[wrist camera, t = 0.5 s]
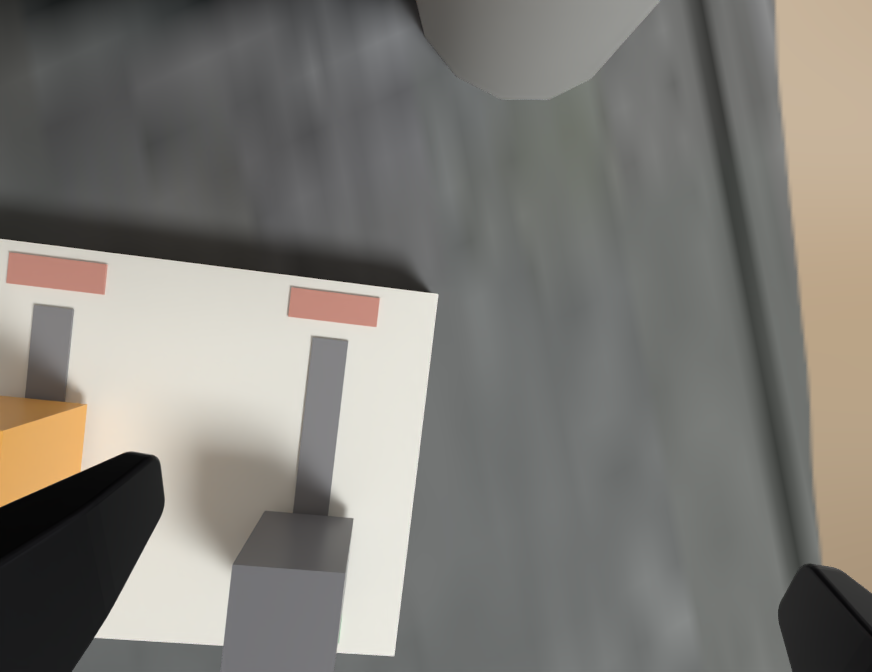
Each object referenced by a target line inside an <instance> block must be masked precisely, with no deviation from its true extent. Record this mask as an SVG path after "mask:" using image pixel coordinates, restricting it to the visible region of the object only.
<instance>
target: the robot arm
mask: <svg viewBox="0 0 872 672" xmlns="http://www.w3.org/2000/svg"><path fill="white" fill-rule="evenodd" d="M164 505H165V495H164V487H163V478H162V470H161V463H160V460H159V459H158V457H157V456H155V455H152V454H146V453H140V452H134V451H129V452H125V453H122V454H120V455H118V456H115V457H113V458H111V459H108V460H106V461H104V462H102V463H99V464H97V465H95V466H93V467H90V468H88V469H86V470H83V471H81V472H79V473H77V474H74V475H72V476H70V477H67V478H65V479H63V480H61V481H58V482H56V483H54V484H52V485H49V486H47V487H45V488H42V489H40V490H38V491H36V492H33V493H31V494H29V495H27V496H24V497H22V498H20V499H17V500H15V501H13V502H11V503H8V504H6V505H4V506H2V507H0V672H72V670H73V669H74V667H75V666H76V664H77V663H78V661H79V660H80V658H81V657H82V655H83V654H84V652H85V651H86V649H87V648H88V646H89V645H90V643H91V642H92V640H93V639H94V637H95V636H96V634H97V632H98V631H99V629H100V628H101V626H102V625H103V623H104V621H105V620H106V618H107V617H108V615H109V613H110V611H111V610H112V608H113V606H114V604H115V602H116V601H117V599H118V597H119V595H120V593H121V591H122V589H123V588H124V586H125V584H126V582H127V580H128V578H129V576H130V574H131V572H132V571H133V569H134V567H135V565H136V563H137V561H138V559H139V557H140V555H141V554H142V552H143V550H144V548H145V546H146V544H147V542H148V540H149V538H150V537H151V535H152V533H153V531H154V529H155V527H156V525H157V523H158V522H159V520H160V518H161V515H162V513H163V510H164ZM778 619H779V625H780V629H781V632H782V636H783V639H784V643H785V647H786V650H787V654H788V657H789V661H790V664H791V668H792V672H872V593H870V592H869V591H868V590H867V589H865V588H864V587H863V586H861V585H860V584H858V583H857V582H856V581H855V580H853V579H852V578H851V577H849V576H848V575H847V574H846V573H844V572H843V571H841V570H839V569H837V568H834V567H828V566H822V565H816V564H805V565H803V566H801V567H800V568H799V569H798V571H797V573H796V575H795V576H794V578H793V580H792V582H791V584H790V586H789V587H788V589H787V591H786V593H785V595H784V597H783V598H782V600H781V602H780V605H779V609H778Z"/></svg>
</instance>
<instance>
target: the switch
mask: <svg viewBox="0 0 872 672" xmlns="http://www.w3.org/2000/svg"><path fill="white" fill-rule="evenodd" d="M353 520H354V518H345V517H333V516H321V515H310V514H298V513H286V512H275V511H264V513H263V514H262V516H261V518H260V519H259V521H258V523H257V524H256V526H255V528H254V529H253V531H252V533H251V534H250V536H249V538H248V539H247V541H246V543H245V544H244V546H243V548H242V549H241V551H240V553H239V554H238V556H237V558H236V559H235V561H234V563H233V564H232V572H231V581H230V590H229V599H228V608H227V617H226V626H225V635H224V644H223V653H222V662H221V671H220V672H334V668H335V661H336V654H337V647H338V640H339V633H340V625H341V618H342V611H343V604H344V596H345V587H346V579H347V571H348V562H349V554H350V545H351V537H352V528H353Z"/></svg>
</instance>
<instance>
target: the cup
mask: <svg viewBox="0 0 872 672" xmlns="http://www.w3.org/2000/svg"><path fill="white" fill-rule="evenodd" d="M660 1H661V0H416V2H417V7H418V11H419V15H420V19H421V23H422V27H423V31H424V35H425V38H426V39H427V40H428V41H429V43H430V44H431V45H432V46H433V48H434V49H435V50H436V52H437V53H438V54H439V55H440V57H441V58H442V59H443V60H444V62H445V63H446V64H447V66H448V67H449V68H450V69H451V71H452V72H453V73H454V74H455V76H456V77H457V78H459V79H461V80H463V81H465V82H467V83H469V84H471V85H473V86H475V87H477V88H479V89H481V90H483V91H485V92H487V93H489V94H491V95H493V96H495V97H497V98H499V99H512V100H549V99H551V98H553V97H555V96H557V95H560V94H562V93H564V92H566V91H568V90H570V89H572V88H574V87H576V86H578V85H580V84H582V83H584V82H586V81H588V80H590V79H591V78H592V77H593V76H594V75H595V74H596V73H597V71H598V70H599V69H600V68H601V67H602V66H603V65H604V64H605V63H606V61H607V60H608V59H609V58H610V57H611V56H612V55H613V54H614V52H615V51H616V50H617V49H618V48H619V47H620V46H621V45H622V43H623V42H624V41H625V40H626V39H627V38H628V37H629V36H630V34H631V33H632V32H633V31H634V30H635V29H636V28H637V27H638V25H639V24H640V23H641V22H642V21H643V20H644V19H645V18H646V16H647V15H648V14H649V13H650V12H651V11H652V10H653V9H654V7H655V6H656V5H657V4H658V3H659V2H660Z"/></svg>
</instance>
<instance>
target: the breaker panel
mask: <svg viewBox="0 0 872 672" xmlns="http://www.w3.org/2000/svg"><path fill="white" fill-rule="evenodd" d="M437 301H438V294H433V293H426V292H418V291H410V290H402V289H394V288H386V287H378V286H370V285H362V284H354V283H346V282H338V281H331V280H323V279H315V278H307V277H299V276H291V275H283V274H275V273H267V272H259V271H251V270H243V269H236V268H228V267H220V266H212V265H204V264H196V263H188V262H180V261H172V260H164V259H156V258H148V257H140V256H133V255H125V254H117V253H109V252H101V251H93V250H85V249H77V248H69V247H61V246H53V245H45V244H38V243H30V242H22V241H14V240H6V239H0V396H10V397H20V398H30V399H40V400H50V401H60V402H70V403H80V404H87V413H86V423H85V433H84V443H83V453H82V462H81V471H83V470H86V469H88V468H90V467H93V466H95V465H97V464H99V463H102V462H104V461H106V460H108V459H111V458H113V457H115V456H118V455H120V454H122V453H125V452H129V451H134V452H140V453H146V454H152V455H155V456H157V457H158V459H159V460H160V463H161V470H162V478H163V487H164V495H165V505H164V510H163V513H162V515H161V518H160V520H159V522H158V523H157V525H156V527H155V529H154V531H153V533H152V535H151V537H150V538H149V540H148V542H147V544H146V546H145V548H144V550H143V552H142V554H141V555H140V557H139V559H138V561H137V563H136V565H135V567H134V569H133V571H132V572H131V574H130V576H129V578H128V580H127V582H126V584H125V586H124V588H123V589H122V591H121V593H120V595H119V597H118V599H117V601H116V602H115V604H114V606H113V608H112V610H111V611H110V613H109V615H108V617H107V618H106V620H105V621H104V623H103V625H102V626H101V628H100V629H99V631H98V632H97V634H96V636H95V637H94V638H108V639H124V640H140V641H156V642H172V643H188V644H205V645H221V646H223V644H224V635H225V626H226V617H227V608H228V599H229V590H230V581H231V572H232V564H233V563H234V561H235V559H236V558H237V556H238V554H239V553H240V551H241V549H242V548H243V546H244V544H245V543H246V541H247V539H248V538H249V536H250V534H251V533H252V531H253V529H254V528H255V526H256V524H257V523H258V521H259V519H260V518H261V516H262V514H263V513H264V511H275V512H286V513H298V514H310V515H321V516H333V517H345V518H354V520H353V528H352V537H351V545H350V554H349V562H348V571H347V579H346V587H345V596H344V604H343V611H342V618H341V625H340V633H339V640H338V647H337V653H350V654H366V655H382V656H394V654H395V646H396V637H397V629H398V621H399V613H400V605H401V597H402V588H403V580H404V572H405V564H406V556H407V547H408V539H409V531H410V523H411V515H412V506H413V498H414V490H415V482H416V474H417V465H418V457H419V449H420V441H421V433H422V424H423V416H424V408H425V400H426V392H427V383H428V375H429V367H430V359H431V351H432V342H433V334H434V326H435V318H436V310H437Z"/></svg>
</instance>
